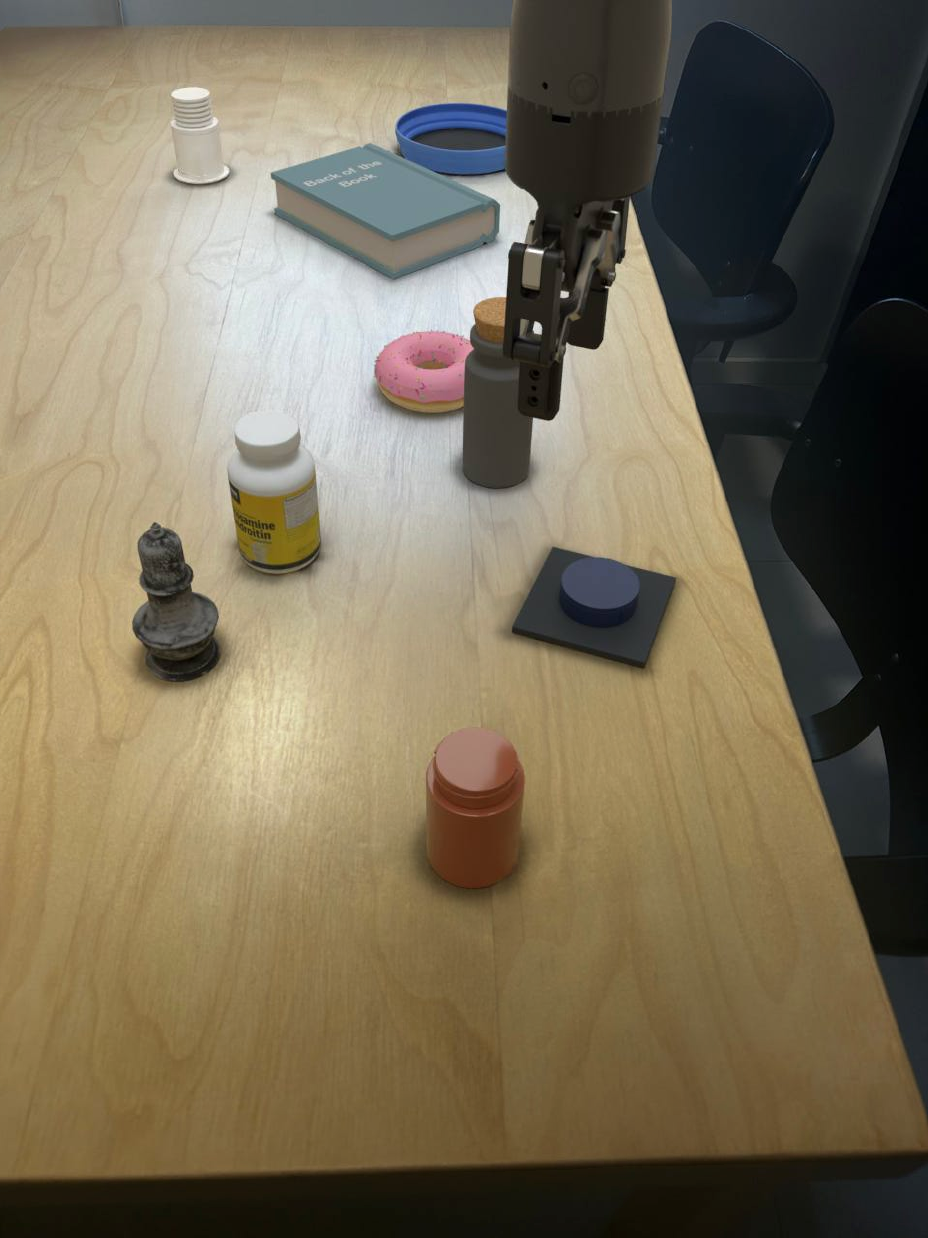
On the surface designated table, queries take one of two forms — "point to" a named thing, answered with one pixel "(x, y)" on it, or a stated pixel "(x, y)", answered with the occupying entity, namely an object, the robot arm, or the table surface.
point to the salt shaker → (173, 611)
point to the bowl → (454, 137)
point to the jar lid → (599, 592)
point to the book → (385, 209)
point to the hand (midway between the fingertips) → (561, 378)
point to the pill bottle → (274, 493)
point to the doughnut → (424, 371)
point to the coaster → (615, 643)
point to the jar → (474, 807)
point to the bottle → (493, 405)
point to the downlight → (196, 137)
